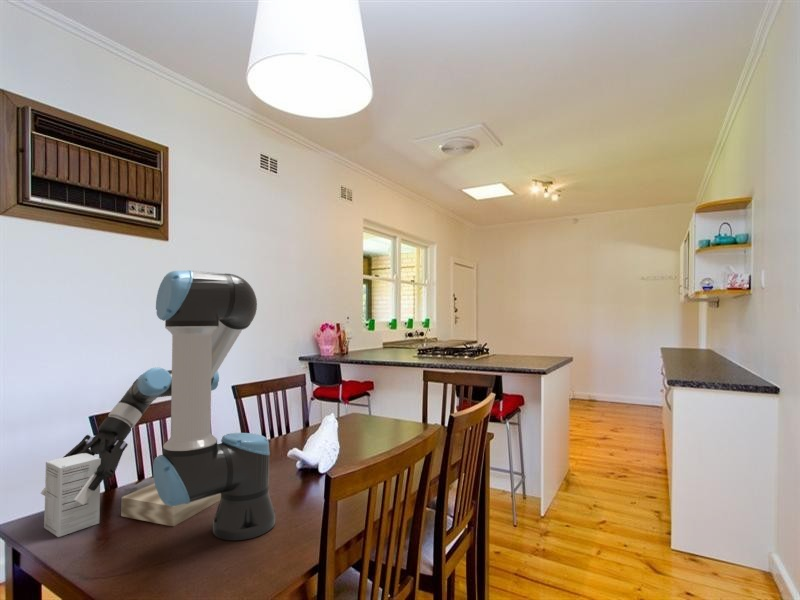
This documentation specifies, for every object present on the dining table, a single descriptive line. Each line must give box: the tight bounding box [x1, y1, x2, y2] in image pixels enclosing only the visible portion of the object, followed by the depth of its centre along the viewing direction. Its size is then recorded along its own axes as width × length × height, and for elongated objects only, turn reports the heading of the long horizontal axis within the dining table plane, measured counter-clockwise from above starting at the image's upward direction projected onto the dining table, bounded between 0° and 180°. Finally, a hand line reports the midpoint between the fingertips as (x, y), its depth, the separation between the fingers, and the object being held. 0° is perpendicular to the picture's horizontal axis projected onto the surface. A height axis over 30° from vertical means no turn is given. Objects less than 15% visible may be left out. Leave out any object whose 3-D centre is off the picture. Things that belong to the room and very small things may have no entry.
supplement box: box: [43, 453, 101, 538], centre depth 114 cm, size 10×9×17 cm
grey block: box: [123, 476, 155, 496], centre depth 135 cm, size 12×5×10 cm
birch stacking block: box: [120, 483, 221, 527], centre depth 125 cm, size 18×18×5 cm
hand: (61, 499), depth 111 cm, fingers closed on supplement box, 11 cm apart
